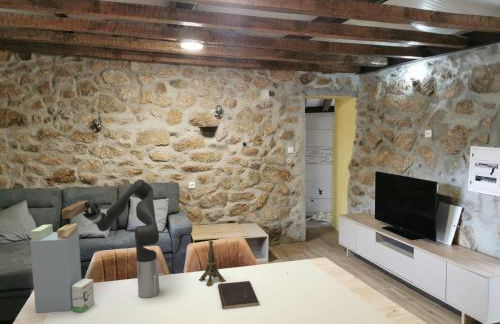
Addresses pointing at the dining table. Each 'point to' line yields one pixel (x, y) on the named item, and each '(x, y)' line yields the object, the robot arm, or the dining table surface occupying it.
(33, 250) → the stand
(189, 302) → the dining table surface
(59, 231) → the maple bar
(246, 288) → the hardcover book
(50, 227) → the sage bar
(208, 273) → the eiffel tower
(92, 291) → the ink box
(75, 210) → the walnut bar
